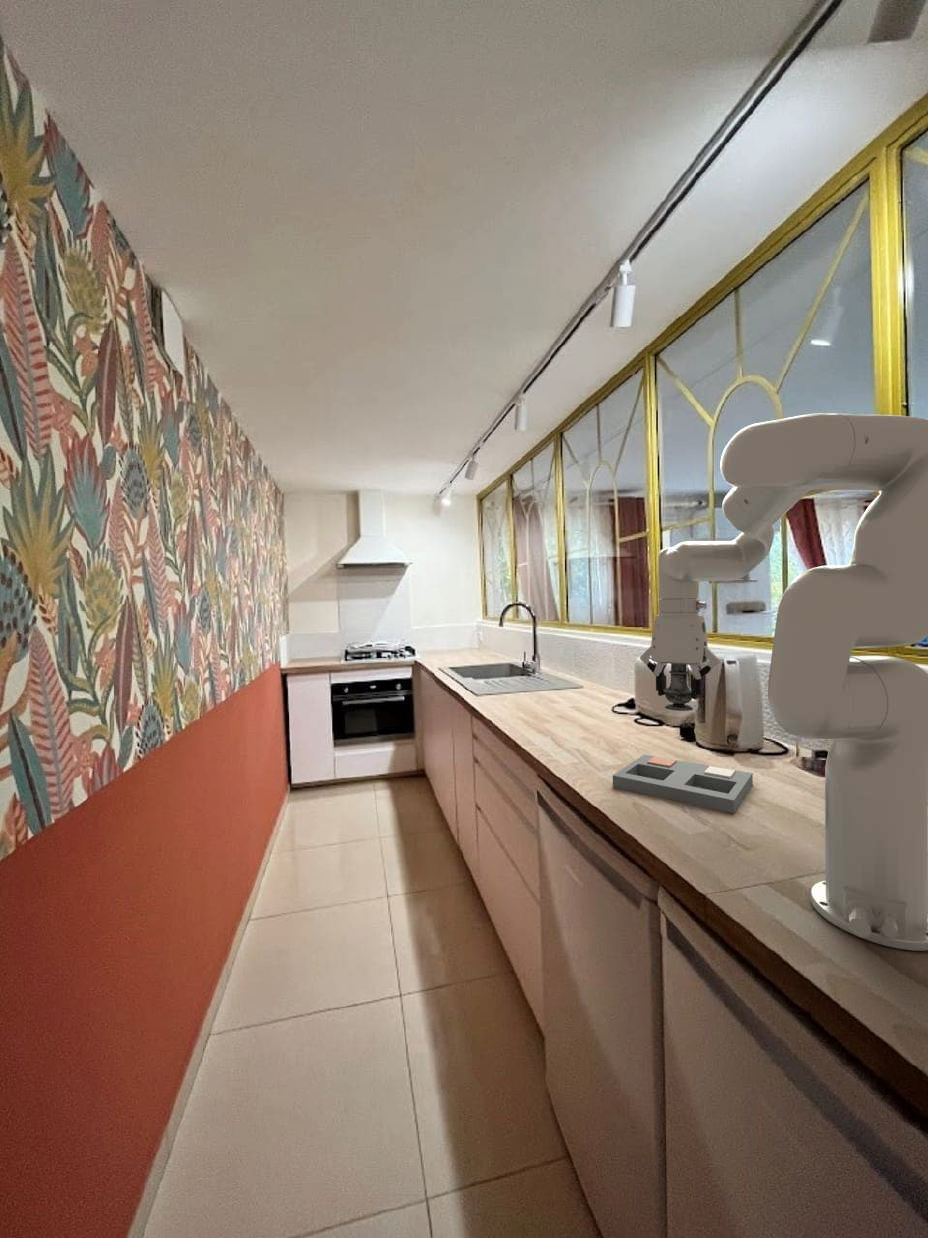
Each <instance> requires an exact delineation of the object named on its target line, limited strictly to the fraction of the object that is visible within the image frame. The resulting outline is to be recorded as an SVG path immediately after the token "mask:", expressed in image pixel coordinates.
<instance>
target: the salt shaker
mask: <svg viewBox="0 0 928 1238" xmlns="http://www.w3.org/2000/svg"><path fill="white" fill-rule="evenodd" d="M670 667H671V668H670V671H668V673H670V683H669V686H668V687H666V689H664V690H663V691H664V692H665V694H664V695H665V698H666V700H667V701H668V702H669V703H668V704H667V705H665V706H664V708H665V709H666V710H670V711H675V712H676V711H677V712H679V711H680V712H686V711H687V712H688V711H689V712H690V711H693V710H694V708H693V706H691V705H689V703H690V702H691V701H692V699H693V698H692V689H690V687H688V677H687V676H688V674H689V671H687V665H685V664H670Z"/></svg>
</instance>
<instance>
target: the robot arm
mask: <svg viewBox="0 0 928 1238" xmlns="http://www.w3.org/2000/svg"><path fill="white" fill-rule="evenodd" d="M719 464H720V466H719V467H720V474H721V476H722V478H723V480H724V481H725V482H726V483H727V484H728V485H730V486H732V488H731V489H730V491H728V492H727V494H725V497H724V498H723V501H722V505H721V509H722V513H723V516H724V517H725V519H726V520H727V522H728V523H729V524H730V525H731V526H733V528H735V529H737V531H739V532H741V533H740V534H739V535H737V537H735V538H734V539H732V540H728V541H727V540H692V541H690V540H689V541H682V542H680V543H677V544H676V545H675V546H671V547H666V548H663V549H661V550H660V551H659V553H658V561H657V562H658V563H657V564H658V565H657V567H658V569H657V570H658V571H657V572H658V578H657V580H658V581H657V582H658V589H657V590H658V592H657V593H658V614H656V615H655V617H654V620H653V624H652V625H653V626H652V634H651V641H650V642H651V643H650V647H648V649H646V650H645V652H643V654H641V655H640V657H639V659H640V660H641V661H642V663H644V665H646V667H647V668H648V669H649V670H650V671H651V672H652V673H653V675H654V677H655V691H657V695H658V696H659V697H660V696H664V695H665V692H664V691H663V690H664V689H667V676H666V674H665V671H666V668H667V667H668V664H670V665H671V664H685V665H686V666H688V665H689V668H690V669H691V672H692V675H693V678H692V679H691V690H692V699H693V700H697V699H699V698H700V697H701V695H702V694H703V678H704V677H706V675H708V674H709V673H711V671H712V670H713V669H715V668H716V667H717V666H719V664H720V663H721V659H719V658H718V656H717V655H716V654H715V653H714V652H712V651H711V650H710V649H709V648H708V647H709V646H708V635H707V628H706V622H705V621H706V620H705V616H704V615H703V614H700V611H701V610H705V609H707V607H708V606H707V602H706V601H701V600H700V598H699V597H700V595H699V593H700V589H699V588H700V587H699V585H700V582H731V581H737V580H739V579H742V578H743V577H745V576H746V575H748V574H749V573H750V572H752V571H753V570H754V569H755V568H756V567H758V565H760V564H761V563H762V562H763V561H764V560H765V559H766V558H767V556H768V555H769V554H770V551H771V549H772V545H773V542H774V539H775V538H774V537H775V528H774V525H775V523H777V522H778V521H779V520H780V519H781V518H782V517H783V516H784V515H785V514H786V513H787V512H788V511H790V509H791V508H792V507H793V506H795V504H797V503H798V502H799V501H800V500H801V499H802V498H803V497H804V496H806V494H807V493H808V492H810V491H811V490H830V491H832V490H833V491H838V490H839V491H840V490H841V491H842V490H843V491H853V490H854V491H856V490H857V491H858V490H859V491H860V490H861V491H875V492H877V493H879V495H877V496H876V498H874V499H873V501H872V502H871V503H870V504H869V505H868V506H867V508H866V510H865V511H864V513H863V514H862V516H861V517H860V519H859V521H858V524H857V526H856V529H855V531H854V534H853V535H854V536H853V545H852V551H851V555H850V559H849V562H848V564H843V565H841V564H839V565H835V564H834V565H833V564H832V565H821V566H817V567H816V566H815V567H812V568H809V569H807V570H805V571H803V572H801V573H800V574H798V575H797V576H795V577H794V579H792V580H791V581H790V583H789V584H788V585H787V587H786V588H785V590H784V592H783V594H782V595H781V598H780V600H779V604H778V608H777V613H776V620H775V628H774V636H773V643H772V651H771V657H770V658H771V659H770V666H769V671H768V672H769V674H768V681H767V682H768V683H767V698H768V700H767V701H768V705H769V709H770V711H771V714H772V717H773V719H774V720H775V722H776V723H777V724H778V725H779V727H780V728H782V729H783V731H785V732H786V733H788V734H790V735H792V736H794V737H797V738H800V739H806V740H807V739H808V740H833V741H832V743H831V745H830V747H829V749H828V753H827V757H826V761H825V771H824V773H825V774H824V833H825V834H824V838H825V839H824V843H825V844H824V846H825V848H824V849H825V850H824V851H825V852H824V855H825V856H824V858H825V859H824V864H825V865H824V866H825V867H824V869H825V871H824V875H825V877H824V878H825V879H824V880H821V881H819V882H816V883H815V884H814V885H812V887H811V888H810V892H809V894H810V902H811V904H812V906H813V908H814V909H815V910H816V912H818V914H819V915H821V916H822V917H823V918H824V919H825V920H827V921H828V922H829V923H831V924H833V925H834V926H836V927H838V928H840V929H841V930H842V931H846V932H848V933H849V934H852V935H854V936H855V937H858V938H861V939H863V940H866V941H869V942H871V943H875V944H878V945H881V946H885V947H890V948H894V949H897V950H904V951H905V950H906V951H917V952H925V951H928V672H926V671H925V670H924V669H923V668H922V667H920V666H919V665H917V664H915V663H913V662H911V661H909V660H907V659H903V658H900V657H895V656H888V655H852V653H853V649H872V648H873V649H875V648H894V647H905V646H911V645H914V644H917V643H920V642H922V641H924V640H925V639H927V638H928V418H924V417H923V418H922V417H917V416H908V415H907V416H906V415H895V414H893V415H892V414H891V415H889V414H858V413H857V414H855V413H854V414H853V413H837V412H836V413H835V412H834V413H821V412H819V413H809V414H802V415H796V416H792V417H786V418H779V419H775V420H769V421H764V422H763V421H761V422H758V423H757V422H756V423H753V424H749V425H748V426H745V427H743V428H742V429H740V430H739V431H738V432H736V433H735V434H734V435H733V436H732V438H730V440H729V441H728V442H727V444H726V445H725V447H724V449H723V451H722V454H721V458H720V463H719ZM707 661H709V662H708V663H707V664H706V665H705V666H703V667H702V664H703V663H706V662H707ZM655 662H656V663H655Z"/></svg>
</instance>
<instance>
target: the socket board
mask: <svg viewBox="0 0 928 1238" xmlns="http://www.w3.org/2000/svg"><path fill="white" fill-rule="evenodd" d="M753 774H754V773H752V772H748V771H743V770H736V769H730V768H725V767H718V766H714V765H708V764H707V765H706V764H701V763H695V762H690V761H685V760H678V759H672V758H666V757H660V756H655V755H654V756H653V755H648V754H642V755H641V756H640V757H638V758H636V759H635V760H633V761H632V762H631V763H629V764H628V765H626V766H625V767H623V768H621V769H620V770H619V771H617V772H615V773H614V774H612V788H615V789H620V790H626V791H629V792H632V793H639V794H643V795H646V796H651V797H655V798H656V797H657V798H660V799H664V800H665V799H666V800H670V801H675V802H679V803H684V804H687V805H693V806H697V807H702V808H705V809H706V808H707V809H710V810H714V811H720V812H724V813H727V814H731V815H732V814H735V813H736V812H737V810H738V809H739V807H740V806H741V804H742V803H743V800H744V799H745V797H746V796H747V795H748V793H749V791H750V790H751V788H752V786H753V785H754V784H753V782H754V779H753V778H754V776H753Z"/></svg>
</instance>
